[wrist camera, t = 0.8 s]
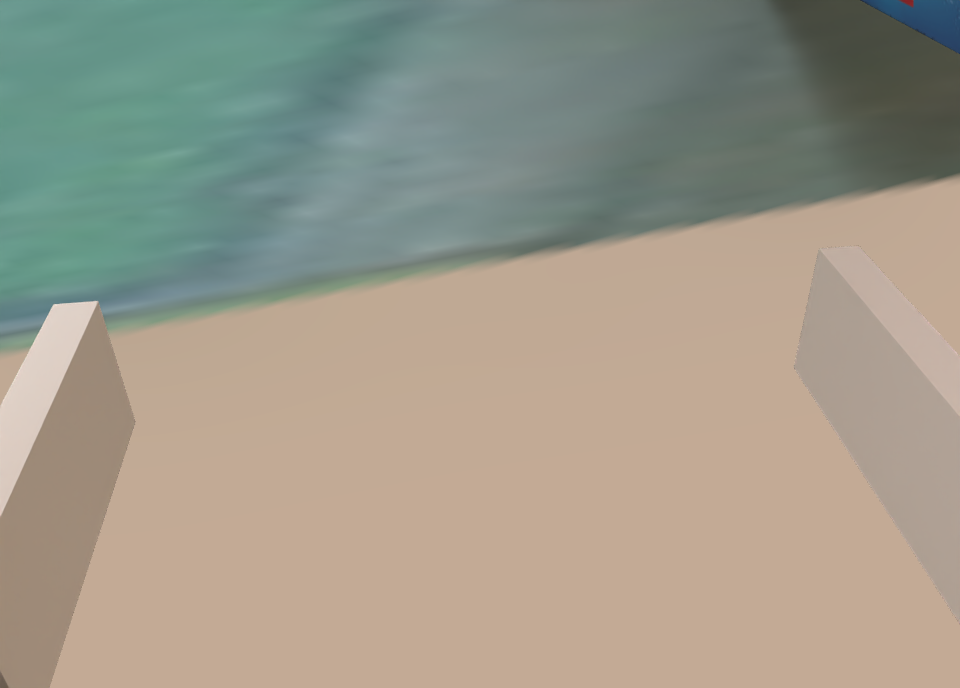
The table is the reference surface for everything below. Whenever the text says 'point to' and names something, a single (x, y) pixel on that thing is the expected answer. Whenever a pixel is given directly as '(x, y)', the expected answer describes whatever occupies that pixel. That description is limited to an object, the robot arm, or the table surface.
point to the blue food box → (926, 18)
